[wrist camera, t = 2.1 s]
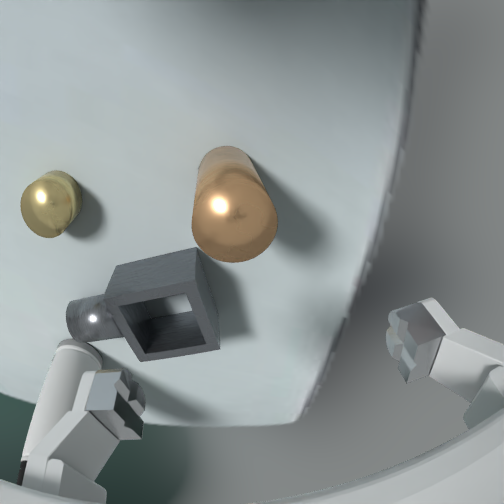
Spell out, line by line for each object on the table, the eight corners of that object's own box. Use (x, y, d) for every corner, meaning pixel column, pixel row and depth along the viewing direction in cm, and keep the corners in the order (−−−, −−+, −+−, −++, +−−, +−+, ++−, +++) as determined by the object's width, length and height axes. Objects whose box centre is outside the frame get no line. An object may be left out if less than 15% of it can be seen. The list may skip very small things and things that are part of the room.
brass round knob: (29, 180, 22) (12, 192, 20) (71, 162, 22) (56, 172, 20) (48, 228, 25) (34, 243, 22) (90, 214, 25) (78, 229, 22)
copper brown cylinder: (192, 153, 23) (181, 196, 15) (247, 140, 23) (270, 176, 15) (205, 203, 26) (204, 270, 17) (257, 191, 26) (282, 252, 17)
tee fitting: (67, 277, 27) (49, 309, 23) (196, 247, 28) (194, 279, 23) (100, 334, 31) (90, 367, 27) (217, 313, 32) (220, 349, 27)
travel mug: (47, 341, 31) (1, 483, 14) (85, 334, 31) (43, 495, 14) (74, 373, 35) (44, 506, 17) (112, 368, 34) (89, 516, 17)
